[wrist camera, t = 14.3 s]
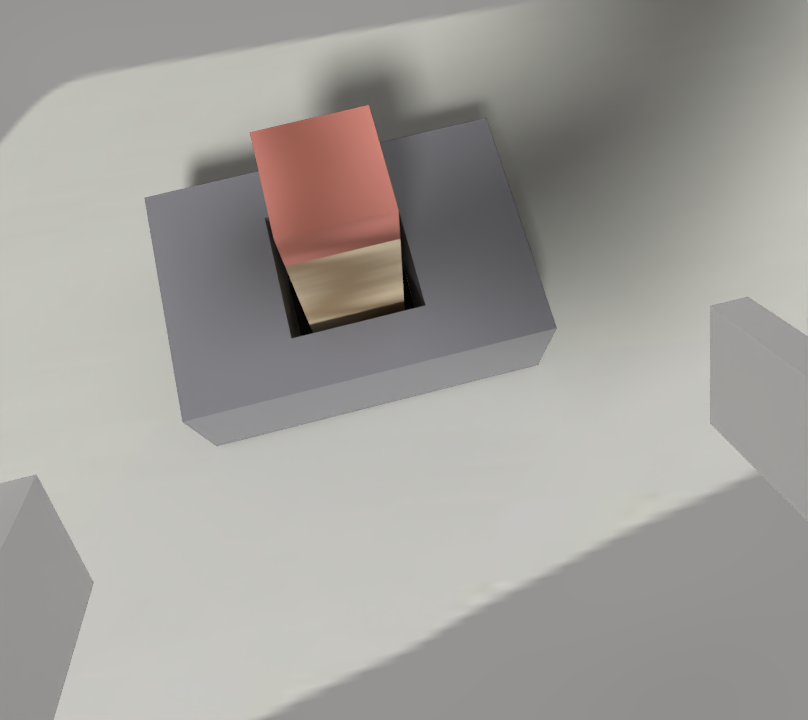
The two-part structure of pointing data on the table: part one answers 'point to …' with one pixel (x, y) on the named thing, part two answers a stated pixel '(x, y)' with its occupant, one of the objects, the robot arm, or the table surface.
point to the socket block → (362, 341)
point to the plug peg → (333, 216)
